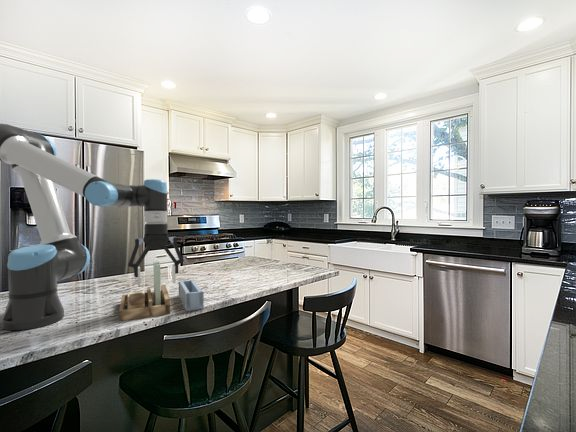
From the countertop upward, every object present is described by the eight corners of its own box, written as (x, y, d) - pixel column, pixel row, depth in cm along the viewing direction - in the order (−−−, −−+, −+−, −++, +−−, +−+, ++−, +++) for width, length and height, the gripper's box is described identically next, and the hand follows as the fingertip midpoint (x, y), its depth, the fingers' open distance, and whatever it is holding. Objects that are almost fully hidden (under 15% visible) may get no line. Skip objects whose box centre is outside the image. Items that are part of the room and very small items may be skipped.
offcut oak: (127, 318, 99) (127, 306, 99) (128, 312, 104) (128, 301, 104) (144, 316, 101) (144, 304, 101) (144, 310, 106) (144, 299, 106)
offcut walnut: (131, 305, 99) (131, 297, 99) (129, 301, 103) (129, 294, 103) (144, 303, 101) (144, 296, 101) (142, 299, 106) (142, 292, 106)
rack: (119, 320, 96) (119, 304, 96) (122, 303, 114) (122, 289, 114) (170, 313, 103) (170, 298, 103) (165, 297, 121) (165, 285, 121)
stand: (185, 311, 105) (185, 293, 105) (178, 296, 123) (178, 281, 123) (203, 308, 108) (203, 291, 108) (194, 294, 126) (194, 279, 125)
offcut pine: (127, 309, 108) (127, 296, 108) (130, 304, 113) (129, 292, 113) (143, 307, 109) (143, 295, 109) (144, 302, 115) (144, 290, 115)
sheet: (155, 311, 105) (155, 265, 104) (154, 302, 115) (153, 259, 115) (160, 311, 105) (160, 264, 105) (158, 301, 116) (158, 259, 116)
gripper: (118, 224, 101) (119, 290, 102) (191, 222, 111) (192, 283, 112) (119, 223, 108) (120, 285, 108) (188, 221, 118) (189, 278, 119)
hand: (157, 284), depth 110 cm, fingers open, 11 cm apart
